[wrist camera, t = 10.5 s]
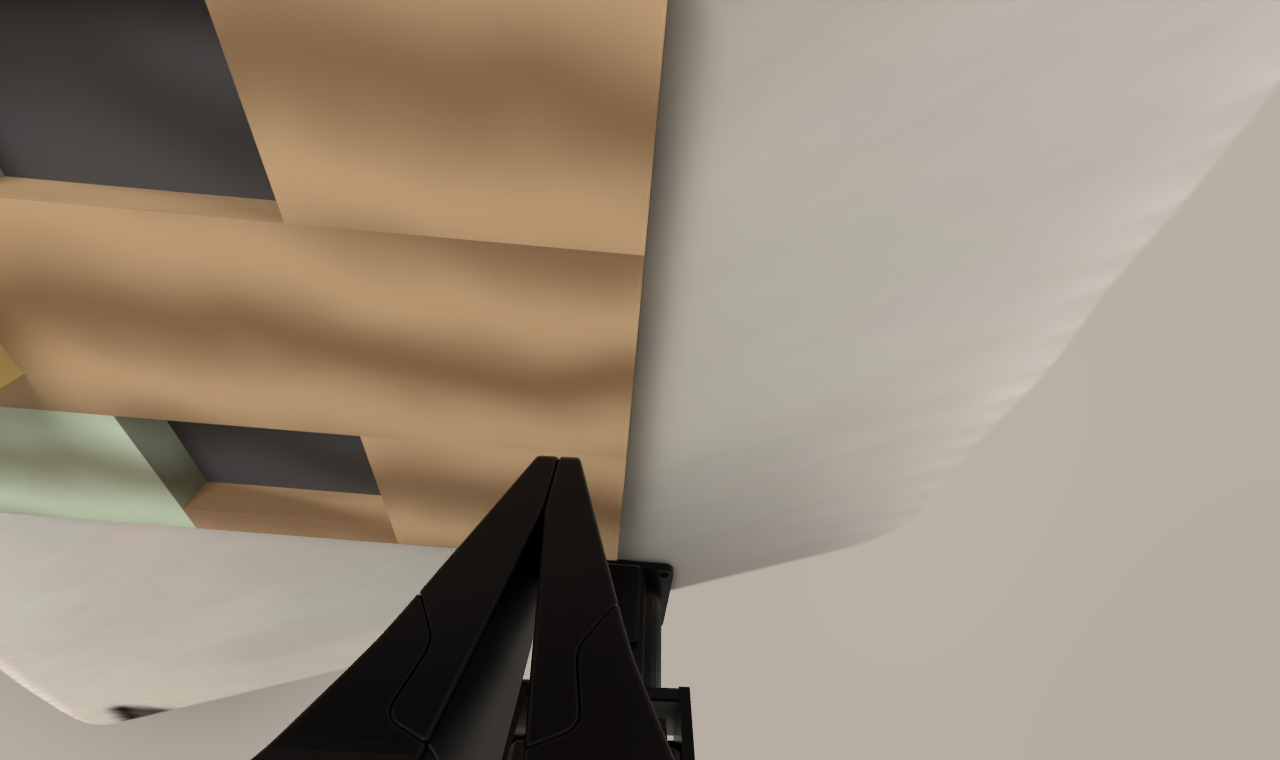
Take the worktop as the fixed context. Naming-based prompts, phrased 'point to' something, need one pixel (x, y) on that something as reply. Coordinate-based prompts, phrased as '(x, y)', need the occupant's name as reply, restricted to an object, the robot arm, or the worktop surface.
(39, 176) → the trap deck
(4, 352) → the mustard block
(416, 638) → the robot arm
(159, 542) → the worktop surface
